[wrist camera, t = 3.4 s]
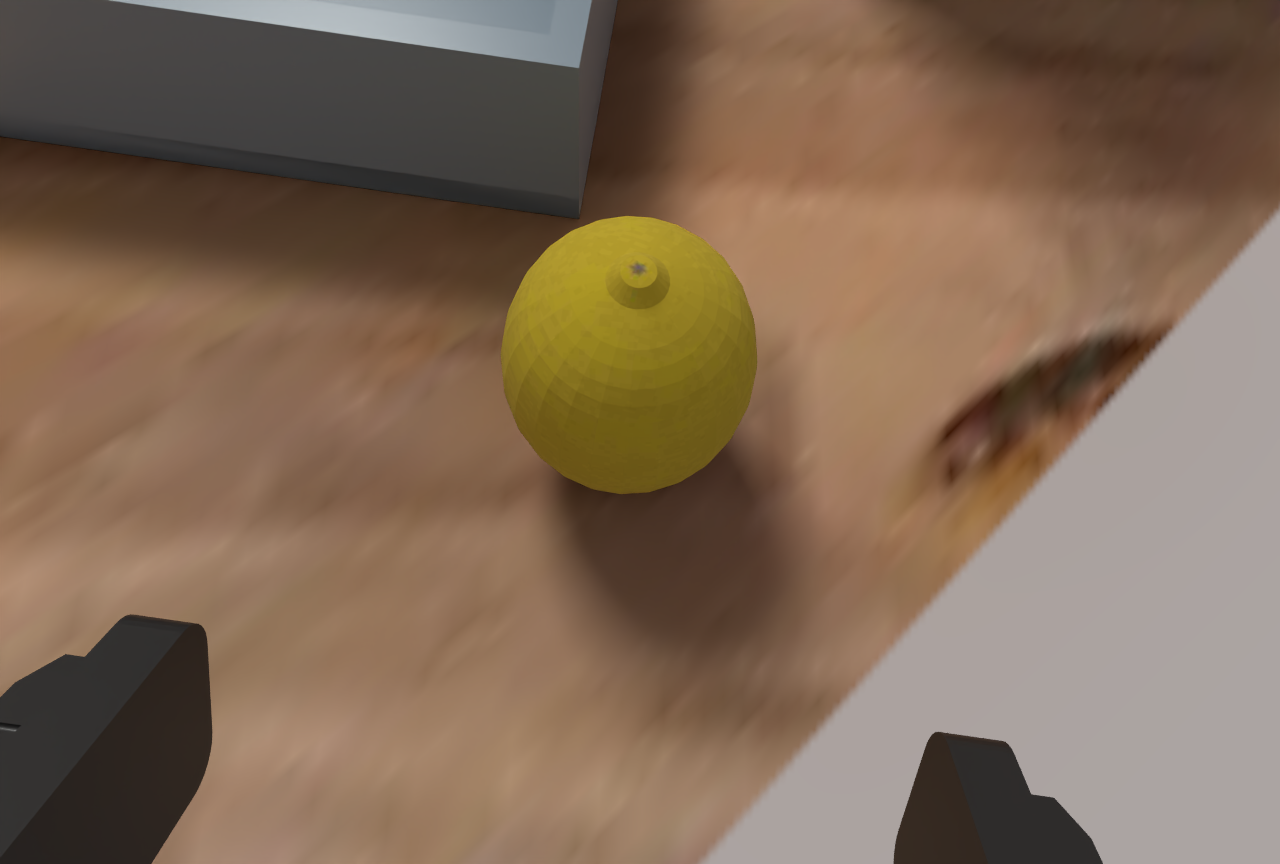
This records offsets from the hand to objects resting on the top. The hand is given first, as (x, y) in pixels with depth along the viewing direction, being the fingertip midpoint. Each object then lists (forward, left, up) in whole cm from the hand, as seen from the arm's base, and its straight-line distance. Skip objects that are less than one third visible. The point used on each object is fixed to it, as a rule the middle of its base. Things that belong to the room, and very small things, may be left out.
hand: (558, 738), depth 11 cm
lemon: (0, +8, -12) cm, 15 cm away
